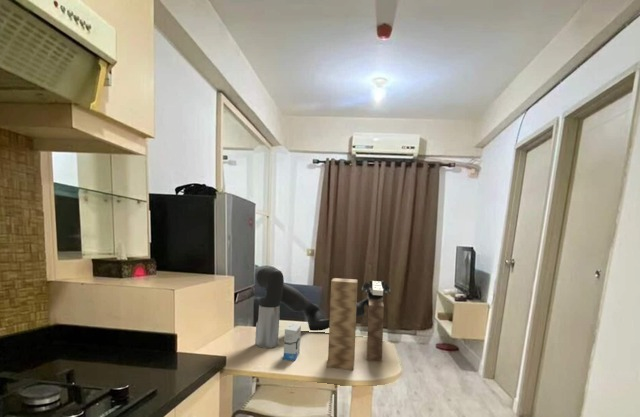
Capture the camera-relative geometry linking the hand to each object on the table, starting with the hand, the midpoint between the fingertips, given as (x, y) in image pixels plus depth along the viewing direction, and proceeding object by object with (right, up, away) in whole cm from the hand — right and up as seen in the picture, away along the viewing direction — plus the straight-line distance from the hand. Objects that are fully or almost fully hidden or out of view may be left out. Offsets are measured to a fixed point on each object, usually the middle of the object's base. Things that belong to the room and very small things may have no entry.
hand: (376, 282), depth 151 cm
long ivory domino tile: (-1, -2, -5) cm, 5 cm away
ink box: (-37, -27, -13) cm, 48 cm away
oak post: (-17, -28, -18) cm, 37 cm away
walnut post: (-3, -29, -8) cm, 30 cm away
